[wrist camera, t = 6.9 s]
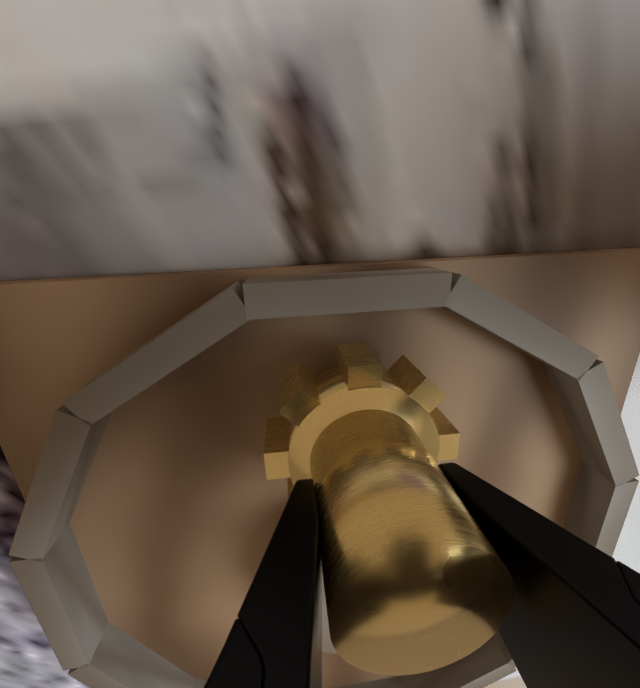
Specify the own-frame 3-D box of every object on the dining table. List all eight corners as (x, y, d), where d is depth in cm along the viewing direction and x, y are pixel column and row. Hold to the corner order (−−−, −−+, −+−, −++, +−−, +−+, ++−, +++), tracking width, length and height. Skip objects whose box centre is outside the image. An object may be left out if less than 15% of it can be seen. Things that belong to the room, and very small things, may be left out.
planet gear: (437, 335, 10) (623, 457, 5) (425, 477, 12) (548, 687, 7) (259, 349, 10) (227, 503, 4) (275, 495, 12) (268, 739, 6)
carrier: (641, 247, 12) (772, 251, 9) (532, 642, 20) (581, 721, 17) (-37, 283, 10) (-190, 306, 7) (136, 711, 18) (104, 817, 15)
